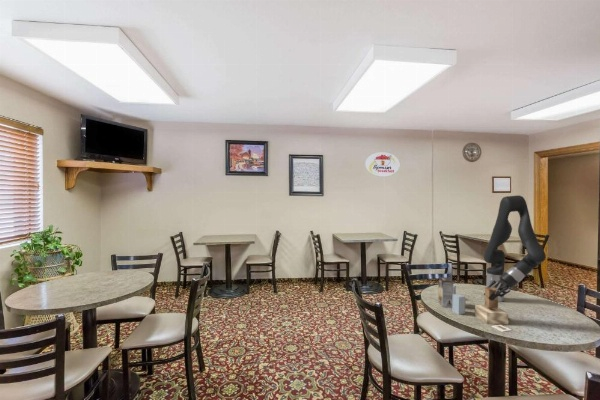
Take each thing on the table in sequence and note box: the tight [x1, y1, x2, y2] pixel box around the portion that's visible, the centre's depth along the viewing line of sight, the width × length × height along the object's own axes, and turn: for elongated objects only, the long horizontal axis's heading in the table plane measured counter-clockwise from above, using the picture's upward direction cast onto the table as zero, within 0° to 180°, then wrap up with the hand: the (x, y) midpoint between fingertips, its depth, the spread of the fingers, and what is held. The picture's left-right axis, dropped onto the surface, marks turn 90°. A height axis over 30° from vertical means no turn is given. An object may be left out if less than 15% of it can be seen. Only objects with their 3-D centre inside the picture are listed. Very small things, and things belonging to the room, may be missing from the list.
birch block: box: [474, 304, 509, 325], centre depth 154 cm, size 11×11×6 cm
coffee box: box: [437, 276, 454, 309], centre depth 175 cm, size 9×6×16 cm
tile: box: [491, 324, 513, 333], centre depth 144 cm, size 6×6×1 cm
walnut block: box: [484, 286, 499, 309], centre depth 154 cm, size 4×4×10 cm
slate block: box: [451, 293, 466, 316], centre depth 163 cm, size 4×4×10 cm
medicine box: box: [453, 284, 457, 295], centre depth 188 cm, size 8×4×9 cm, turn 47°
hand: (487, 297), depth 155 cm, fingers open, 4 cm apart
